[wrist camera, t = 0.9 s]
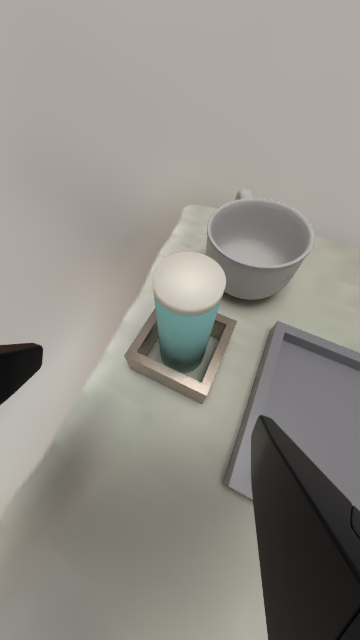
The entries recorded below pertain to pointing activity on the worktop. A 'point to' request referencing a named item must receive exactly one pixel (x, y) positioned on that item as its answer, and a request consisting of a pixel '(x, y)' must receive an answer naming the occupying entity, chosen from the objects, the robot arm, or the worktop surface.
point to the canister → (186, 306)
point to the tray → (306, 407)
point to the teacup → (257, 244)
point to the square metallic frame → (172, 377)
